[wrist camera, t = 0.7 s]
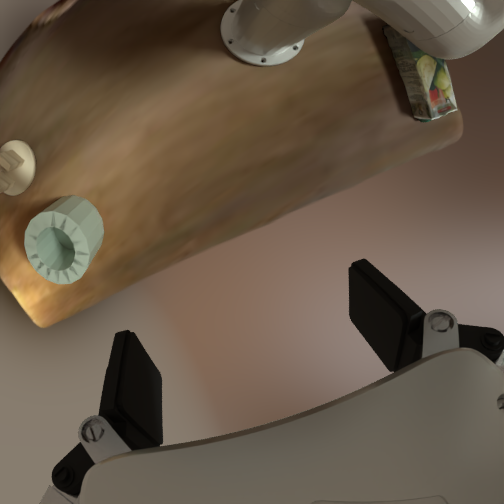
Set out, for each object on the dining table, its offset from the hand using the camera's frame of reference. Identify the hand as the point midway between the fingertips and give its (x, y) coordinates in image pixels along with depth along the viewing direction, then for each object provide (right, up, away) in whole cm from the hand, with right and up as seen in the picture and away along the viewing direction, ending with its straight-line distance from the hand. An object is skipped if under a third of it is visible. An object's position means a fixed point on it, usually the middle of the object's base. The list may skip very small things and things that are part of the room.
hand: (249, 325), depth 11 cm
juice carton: (+31, +38, +27) cm, 56 cm away
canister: (-29, +7, +28) cm, 41 cm away
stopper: (-36, +17, +21) cm, 45 cm away
